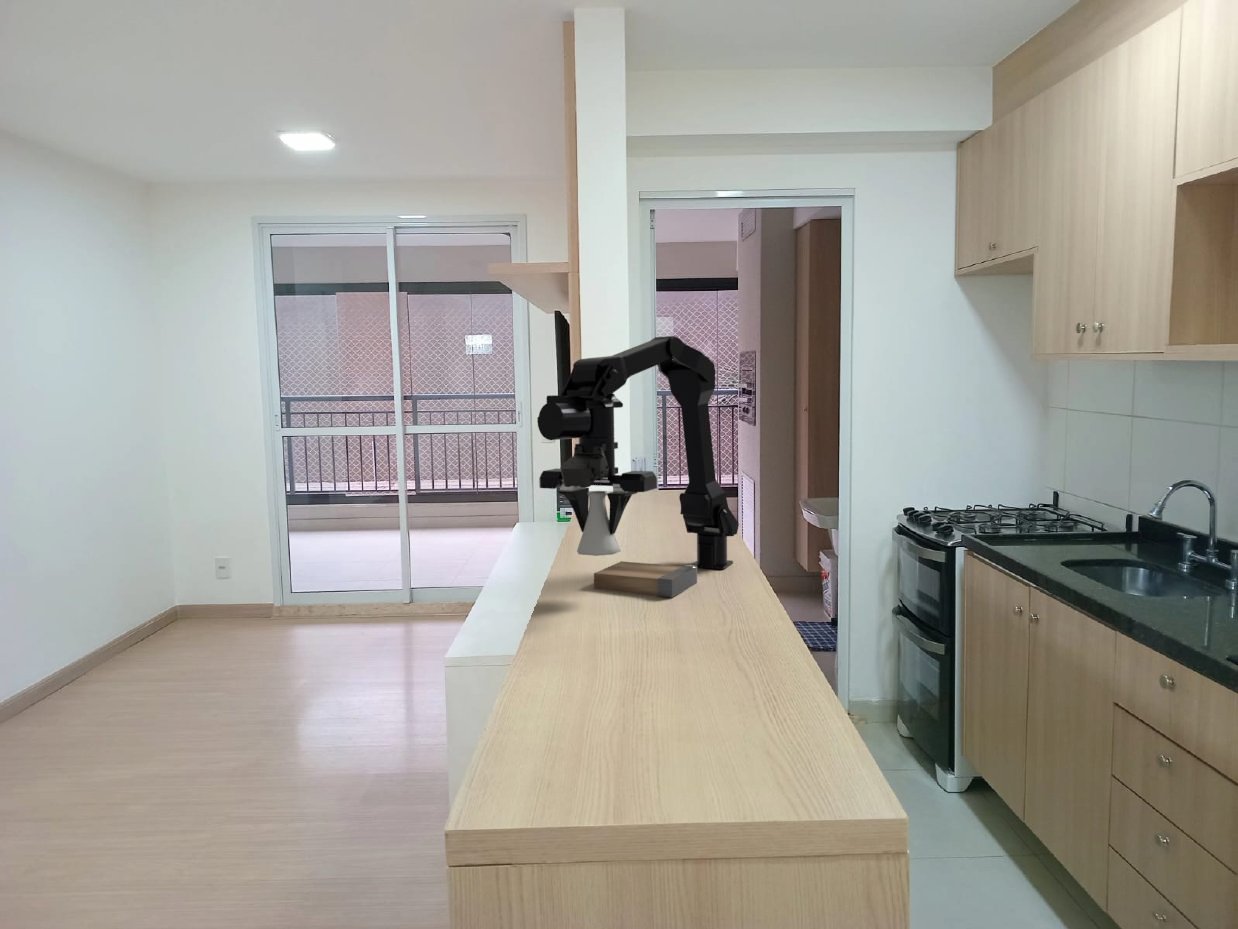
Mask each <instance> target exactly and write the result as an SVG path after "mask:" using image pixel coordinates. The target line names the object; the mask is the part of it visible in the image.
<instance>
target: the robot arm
mask: <svg viewBox="0 0 1238 929" xmlns="http://www.w3.org/2000/svg"><path fill="white" fill-rule="evenodd" d="M572 366H573V367H572V370H571V373H570V374H569V376H568V378H567V380H566V382H565V384H564V386H563V388H562V389H561V392H560V394H559V395H558V394H557V395H546V403H545V404H543V406H542V407H541V409H540V411H539V412H538V413H539V414H538V417H537V428H538V431H539V433H540V435H541V436H542V437H544V439H546V440H548V441H556V440H570V439H578V443H575V444H574V445H575V446H574V448H573V449H574V452H573V455H572V456H571V457H569V458H568V459H567V460H566V461H565V462H563V463H562V465H561V466H560V468H551V469H546V470H542V472H541V474H540V475H539V479H538V480H539V481H538V482H539V488H540V489H552V490H554V489H557V488H558V487H559V489H558V490H557V493H558V495H562V496H564V497H565V498H566V499H567V501H568V502H569V503H570V506H571V507H572V509H573V513H574V515H575V518H576V520H577V523H578V526H579V528H580V531H581V532H582V533H583V531H584V527H585V524H586V520H587V517H588V511H589V496H588V494H587V492H590V487H592V486H596V487H597V486H598V487H599V486H600V487H603V486H604V487H612V491H611V492H610V491H609V492H607V495H606V496H607V498H608V501H609V515H608V518H609V528H610V534H614V535H615V533H616V532H617V529H618V526H619V523H620V521H621V519H622V517H623V514H624V511H625V510H626V507H627V505H628V503H629V502H630V500H631V497H632V496H633V495H635V494H638V493H645V492H648V491H653V490H656V489H657V488H658V480H657V479H658V478H657V476H656V474H655V473H654V471H651V470H631V471H627V472H622V473H621V474H619V467H618V466H616V462H615V461H616V457H615V456H616V455H615V454H616V453H615V452H616V451H615V450H617V449H619V442H618V441H615V408H616V409H617V408H618V409H620V408H623V407H624V403H623V402H622V401H621V400H620V399H618V397H617V396H616V394H614V393H615V392H617V391H618V390H619V389H620V388H622V387H624V386H625V385H626V384H627V380H628V379H629V378H631V377H633V376H634V375H637V374H639V373H641V372H644V371H646V370H649V369H651V368H653V367H655V366H657V367H658V368H657V369H658V372H660V373H661V375H663V376H664V377H665V378H666V379H667V380H668V384H669V389H670V393H671V394H672V396H673V397H674V399H675V401H677V403H678V405H679V406H680V409H681V420H682V429H683V437H684V446H685V456H686V466H687V474H688V483H687V486H686V488H685V491H684V492H681V493H680V494H679V498H678V499H679V502H680V503H679V504H680V512H679V514H680V515H682V517H683V521H684V525H685V529H686V533H688V534H696V561H694V562H693V563H691V564H690V565H696V566H697V568H700V569H715V570H724V569H726V568H728V567H729V566H731V565H733V564H734V561H733V560H728V537H735V535H737V534H738V531H739V530H738V529H739V526H740V525H739V521H738V520H737V518H736V517H735V515H734V514H733V513H732V511H731V509H730V508H729V505H728V503H729V502H728V500H727V495H726V492H725V490H724V489H723V488H722V486H721V484H719V482H718V481H717V478H716V470H715V469H716V468H715V459H714V450H713V449H714V448H713V439H712V431H711V429H712V428H711V420H710V410H709V408H710V407H709V402H710V400H711V398H712V397H713V394H714V391H715V389H716V367H715V363H714V361H712V360H711V359H710V358H709V357H708V356H706V355H705V354H704V353H703V352H702V351H700V350H698V349H696V348H694V347H692V346H690V345H688V344H686V343H684V341H682V340H681V339H680V338H679V337H676V336H674V335H667V336H655V337H653V338H652V339H650V340H649V341H646V342H644V343H640V344H639V345H636V346H634V347H633V346H632V347H630V348H628V349H626V350H623V351H621V352H618V353H615V354H613V355H608V356H597V357H589V358H588V357H587V358H581V359H578V360H576V361H575V362H574V363H573V365H572Z"/></svg>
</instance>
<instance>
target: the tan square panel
mask: <svg viewBox="0 0 1238 929" xmlns="http://www.w3.org/2000/svg"><path fill="white" fill-rule="evenodd" d="M682 566H683V565H671V564H660V563H659V564H658V563H647V562H646V563H645V562H634V561H619V562H617V563H615V564H612V565H609V566H608V567H606V568H604V569H601V570H598V571H596V572H594V573H593V588H594V589H596V590H604V591H611V592H612V591H613V592H619V593H629V594H635V595H636V594H637V595H644V596H654V597H659V596H658V578H660V577H662V576H664V575H666V574H668V573H670V572H672V571H674V570H676V569H678V568H680V567H682Z"/></svg>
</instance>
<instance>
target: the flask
mask: <svg viewBox="0 0 1238 929" xmlns="http://www.w3.org/2000/svg"><path fill="white" fill-rule="evenodd" d="M607 493H608V492H607V491H606V490H591V491H590V490H589V492H587V494H588V496H589V506H588V517H587V520H586V524H585V527H584V531H583V532H582V534H581V537H580V540H579V542H578V546H577V549H576V550H577V551H576V552H577V554H578V555H582V556H594V557H596V556H597V557H600V556H610V555H611V556H612V555H615V554H617V553H620V552H622V551H621V548H620V545H619V542H618V540H617V537H616V534H615V533H614V534H610V528H609V515H608V514H609V513H608V511H607V510H608V509H607V505H606V496H607Z"/></svg>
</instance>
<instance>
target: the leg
mask: <svg viewBox="0 0 1238 929" xmlns="http://www.w3.org/2000/svg"><path fill="white" fill-rule="evenodd" d="M681 566H682V567H680V568H678V569H676V570H674V571H672V572H670V573H668V574H666V575H664V576H662V577H660V578H658V596H657V597H661V598H662V597H663V598H672V599H673V598H674V597H676V596H678V595H679V594H682V593H683V592H685V591H686V590H688V589H690V588H692V587H693V586H695V585H697V583H698V567H697V566H696V565H691V564H685V565H681Z"/></svg>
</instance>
